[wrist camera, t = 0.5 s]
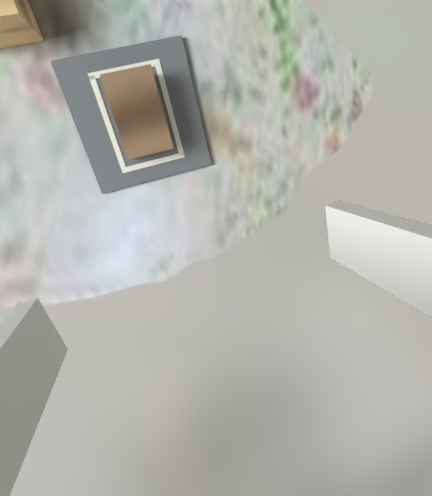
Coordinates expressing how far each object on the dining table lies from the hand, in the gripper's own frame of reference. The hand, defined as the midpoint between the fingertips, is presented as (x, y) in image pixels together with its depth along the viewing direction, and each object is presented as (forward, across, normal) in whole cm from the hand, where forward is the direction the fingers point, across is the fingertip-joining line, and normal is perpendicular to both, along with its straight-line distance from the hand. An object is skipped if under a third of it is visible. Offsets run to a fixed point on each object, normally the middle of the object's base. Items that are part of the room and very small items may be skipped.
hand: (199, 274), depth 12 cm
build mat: (+26, 0, +9) cm, 27 cm away
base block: (+25, 0, +9) cm, 26 cm away
